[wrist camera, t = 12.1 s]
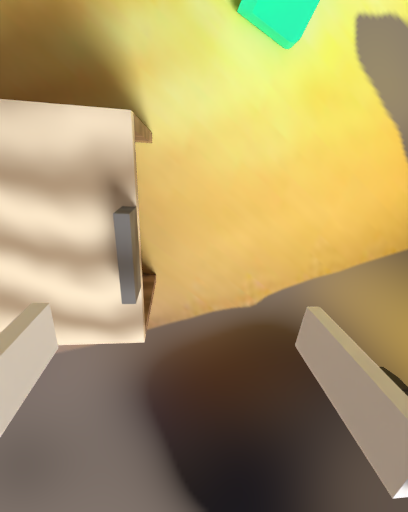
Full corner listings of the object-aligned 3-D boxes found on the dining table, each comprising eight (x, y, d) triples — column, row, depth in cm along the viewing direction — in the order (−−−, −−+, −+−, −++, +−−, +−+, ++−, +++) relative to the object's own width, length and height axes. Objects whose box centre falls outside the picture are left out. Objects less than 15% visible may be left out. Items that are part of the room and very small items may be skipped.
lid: (-75, 95, 16) (-150, 75, 12) (133, 112, 18) (121, 99, 14) (10, 339, 25) (-19, 371, 21) (145, 335, 26) (140, 364, 23)
